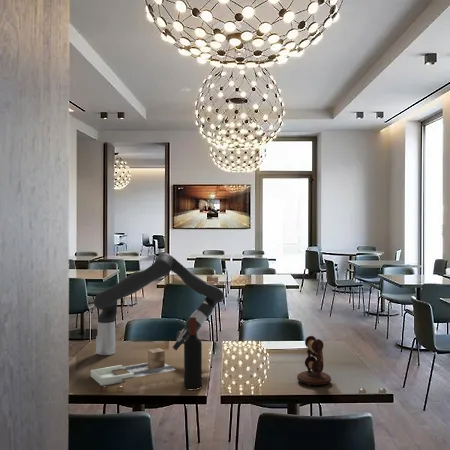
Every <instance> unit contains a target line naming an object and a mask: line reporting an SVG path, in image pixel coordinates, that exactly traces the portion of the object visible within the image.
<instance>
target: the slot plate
mask: <svg viewBox="0 0 450 450" xmlns="http://www.w3.org/2000/svg"><path fill="white" fill-rule="evenodd" d="M123 369H124V370H125V371H127V373H134V377H135V378H140V377H145V376H149V375H156V374H157V375H158V374H161V373H167V372H172V371H176V370H177V369H176V368H174V367H173V365H172V364H169V365H168V364H167V363H165V366H163V367H157V368H152V369H151V368H150V367H148V362H143V363H138V364H132V365H125V366H123Z"/></svg>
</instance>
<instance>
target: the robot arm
mask: <svg viewBox="0 0 450 450" xmlns="http://www.w3.org/2000/svg"><path fill="white" fill-rule="evenodd" d="M170 272H172V273H173V274H175V275H177V276H178V278H180V279H181V280H182V282H183V283H184V284H185V285H186V286H187V287H188V288H189V289H191V290H192V291H194V292H195V293H196V294H198V295H201V296H205V298H204V299H203V300H202V302H201V303H200V305H199V306H198V307H197V308H196V309H195V311H194V312H192V314H191V315H190V316H189V317H188V319H186V320H185V322H184V327H183V328H182V329H180V330H177V333H176V337H175V340H176V341H175V343H174V344H173V346H172V349H173V350H174V351H177V350H178V349H179V348H180V346H182V345H184V342H185V340H186V339H187V338H188V337H189V336H190V317H196V334H197V333H198V332H199V330H200V328H202V327H203V325H204V324H205V322H206V321H207V319H208V318H209V316H210V315H211V314H212V312H213V309H214V308H215V307H216V305H217V304H218V303H221V302H222V301H223V300H224V298H225V295H224V292H223V290H221V289H220V288H219V287H217V286H215V285H212V284H209V283H208V282H207V281H206V280H204V279H202V278H201V277H198V276H197V275H195V274H194V273H193V272H191V271H190V270H189V269H188V268H187V267H185V266H184V265H183V264H181V263H180V262H179V260H177V259H176V258H175V257H173V256H172V255H171V254H169V253H167V252H162V253H160V254H159V255H157V257H156V259H155V260H154V262H153V263H152V264H151V265H150V266H149V267H147V268H146V269H144V270H141V271H135V272H133V273H131V274H129V275H128V276H126V277H124V278H123V279H122V280H119V282H117V283H116V284H114V285H113V286H112V287H110V288H108V289H105V290H104V291H101V292H99V293H98V294H96V295H95V297H94V299H93V305H94V306H95V307H94V308H96V309H98V310H101V313H99V315H98V316H97V335H96V336H95V348H96V349H95V354H96V355H99V356H111V355H115V353H116V317H117V314H118V312H117V311H118V300H121V299H123V298H125V297H128V296H131V295H133V294H135V293H137V292H138V291H141V290H142V289H143V288H145V287H146V286H148V285H150V284H151V283H153V282H155V281H156V280H159V279H160V278H163V277H165V276H167V275H169V274H170Z"/></svg>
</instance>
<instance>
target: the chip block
mask: <svg viewBox="0 0 450 450" xmlns="http://www.w3.org/2000/svg"><path fill="white" fill-rule="evenodd" d="M165 351H166V350H164V349H162V348H160V347H158V348H151V349H148V350H147V363H148V367H150V368H151V369H152V368H157V367H163V366H165V364H166V363H165V362H166V361H165V360H166V358H165V357H166V352H165Z"/></svg>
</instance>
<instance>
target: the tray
mask: <svg viewBox="0 0 450 450" xmlns="http://www.w3.org/2000/svg"><path fill="white" fill-rule="evenodd" d="M123 367H124V366H123V364H118V365H113V366H107V367H102V368H95V369H90V377H91V378H92V379H93V380H94V381H95V382H96V383H98V385H100V386H101V387H104V386H108V385H114V384H118V383H123V382H126V380H124V379H128V378H134V377H135V376H134V373H129V372H127V373H123V374H117V373H115V372H114V371H116V370H117V371H118V370H122V369H124V368H123Z"/></svg>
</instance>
